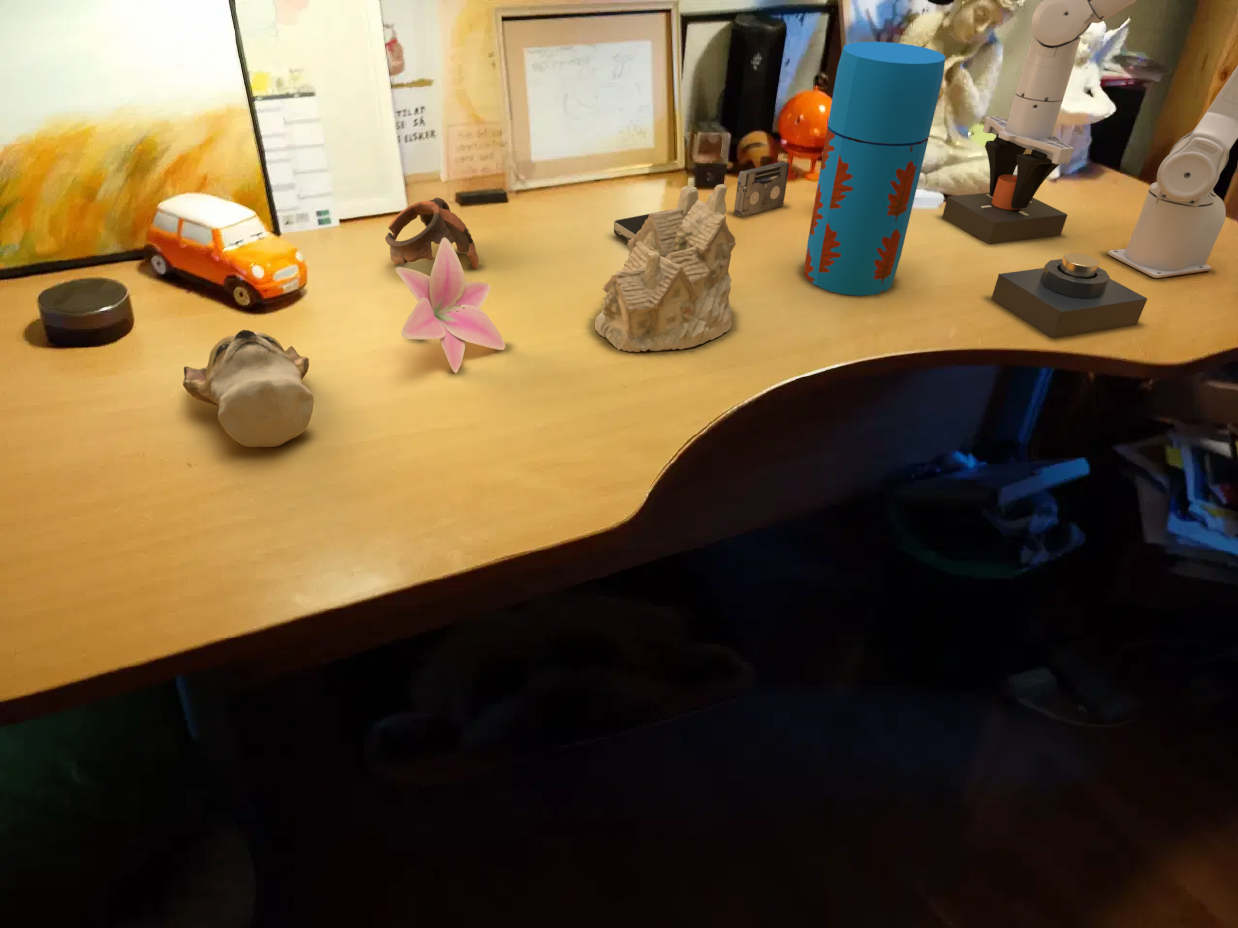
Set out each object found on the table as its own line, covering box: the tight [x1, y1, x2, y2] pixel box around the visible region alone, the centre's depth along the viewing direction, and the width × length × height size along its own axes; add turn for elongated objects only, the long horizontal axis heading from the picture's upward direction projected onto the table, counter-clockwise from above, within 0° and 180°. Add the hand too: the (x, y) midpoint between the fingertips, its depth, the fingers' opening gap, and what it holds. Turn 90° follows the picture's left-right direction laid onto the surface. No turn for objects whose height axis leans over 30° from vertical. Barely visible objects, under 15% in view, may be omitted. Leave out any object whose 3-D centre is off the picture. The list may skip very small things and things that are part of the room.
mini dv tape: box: [733, 161, 790, 218], centre depth 124 cm, size 8×2×6 cm, turn 128°
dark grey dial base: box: [941, 192, 1068, 245], centre depth 123 cm, size 12×10×3 cm
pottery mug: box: [384, 197, 480, 270], centre depth 106 cm, size 12×10×8 cm
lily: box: [395, 237, 506, 374], centre depth 88 cm, size 12×12×10 cm
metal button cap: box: [1059, 252, 1100, 279], centre depth 100 cm, size 4×4×2 cm
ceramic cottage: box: [594, 183, 737, 353], centre depth 94 cm, size 16×16×15 cm
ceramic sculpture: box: [182, 329, 314, 448], centre depth 77 cm, size 11×9×15 cm
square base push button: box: [990, 258, 1148, 339], centre depth 101 cm, size 12×10×5 cm
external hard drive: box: [613, 208, 673, 243], centre depth 115 cm, size 7×11×2 cm, turn 122°
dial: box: [992, 174, 1021, 210], centre depth 121 cm, size 4×4×4 cm
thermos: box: [803, 41, 946, 297], centre depth 101 cm, size 11×11×25 cm
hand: (1007, 201), depth 122 cm, fingers closed on dial, 4 cm apart
